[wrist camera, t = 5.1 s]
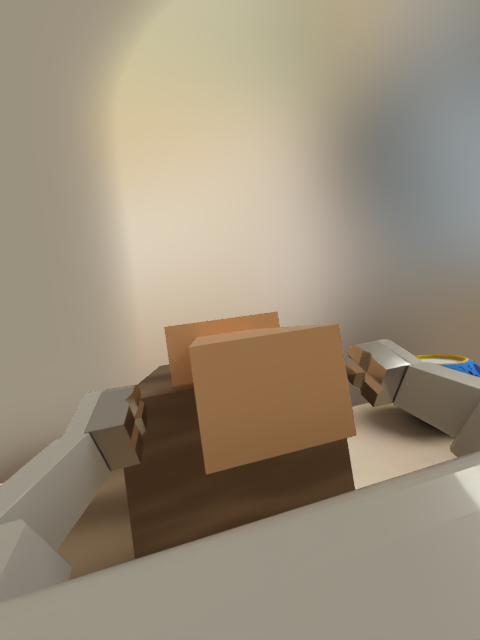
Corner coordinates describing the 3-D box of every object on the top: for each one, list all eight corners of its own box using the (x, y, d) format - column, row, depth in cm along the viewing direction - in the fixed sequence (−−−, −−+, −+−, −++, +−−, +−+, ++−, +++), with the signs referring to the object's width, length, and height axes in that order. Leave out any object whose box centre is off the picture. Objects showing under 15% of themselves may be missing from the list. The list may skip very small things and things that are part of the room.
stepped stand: (397, 759, 14) (334, 361, 15) (-163, 1084, 9) (-214, 465, 10) (301, 550, 28) (271, 347, 29) (53, 636, 23) (25, 388, 24)
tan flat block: (418, 419, 6) (394, 274, 6) (113, 498, 5) (90, 310, 5) (257, 354, 24) (252, 317, 24) (182, 367, 22) (177, 327, 23)
